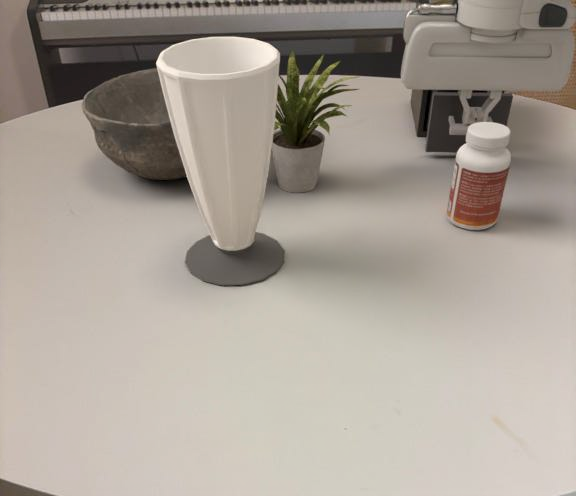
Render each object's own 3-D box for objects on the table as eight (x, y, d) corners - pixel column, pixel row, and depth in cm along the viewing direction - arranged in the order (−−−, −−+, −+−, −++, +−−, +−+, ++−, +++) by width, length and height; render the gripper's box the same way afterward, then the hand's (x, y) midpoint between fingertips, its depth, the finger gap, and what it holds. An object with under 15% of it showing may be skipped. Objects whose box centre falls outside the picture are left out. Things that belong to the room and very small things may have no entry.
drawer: (506, 167, 87) (519, 109, 81) (428, 166, 87) (437, 108, 82) (486, 118, 99) (497, 64, 94) (418, 117, 100) (425, 63, 94)
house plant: (313, 225, 78) (316, 86, 67) (222, 197, 84) (210, 64, 72) (367, 179, 87) (377, 49, 75) (281, 156, 92) (279, 31, 81)
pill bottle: (507, 224, 78) (530, 134, 70) (466, 236, 76) (485, 145, 68) (475, 202, 82) (493, 114, 74) (435, 213, 80) (450, 124, 72)
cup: (304, 249, 74) (305, 47, 59) (245, 299, 68) (230, 85, 53) (226, 222, 79) (208, 29, 64) (163, 266, 72) (128, 61, 57)
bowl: (128, 131, 99) (115, 62, 92) (258, 139, 96) (255, 69, 90) (73, 195, 85) (52, 119, 78) (224, 206, 82) (217, 129, 75)
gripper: (407, 10, 73) (394, 131, 82) (592, 11, 71) (557, 134, 81) (404, -4, 77) (392, 112, 87) (577, -3, 76) (546, 115, 86)
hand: (473, 123), depth 84 cm, fingers closed, pressing on drawer
